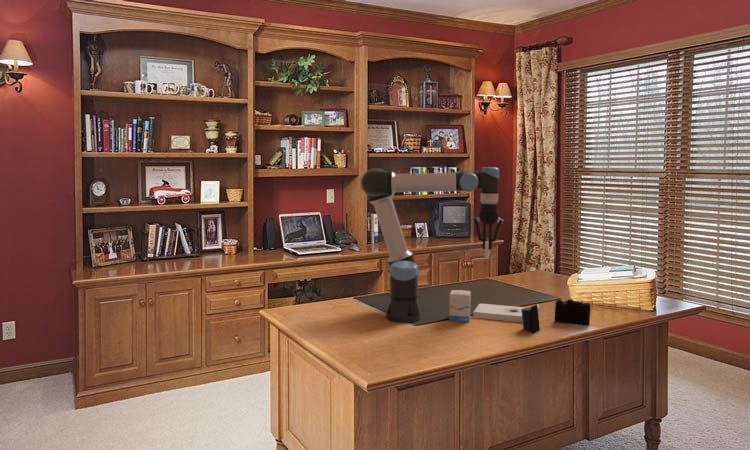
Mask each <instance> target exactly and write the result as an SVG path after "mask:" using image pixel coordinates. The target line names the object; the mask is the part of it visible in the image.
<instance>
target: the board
mask: <svg viewBox="0 0 750 450" xmlns="http://www.w3.org/2000/svg"><path fill="white" fill-rule="evenodd" d="M536 305H537V308H538V317H539V316H540V306H541V305H540V304H539V303H537V304H536ZM523 308H526V307H525V306H524V307H523V306H515V305H514V306H513V305H512V306H511V305H500V304H491V303H478V305H477V306H476V308H475V309H474V310H473V316H472V317H473V318H474V319H483V320H484V319H486V320H493V321H494V320H497V321H507V322H516V323H523V320H522V310H521V309H523ZM513 310H517V311H518V312H512V311H513Z"/></svg>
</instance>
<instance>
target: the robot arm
mask: <svg viewBox="0 0 750 450" xmlns="http://www.w3.org/2000/svg"><path fill="white" fill-rule="evenodd" d="M360 180H361V181H360V187H361V188H362V191H363V192H364V193H365V194H366V198H367V199H368V203H370V204H372V205H373V207H374V210H375V214H376V217H377V221H378V223H379V227H380V230H381V233H382V236H383V239H384V243H385V245H386V248H387V249H386V250H387V252H388V254H389V255H388V259H387V263H388V267H389V276H390V277H389V302H388V304H387V308H386V310H385V319H387V320H388V321H392V322H398V323H412V322H418V321H420V320H421V319H422V311H421V307H420V304H419V300H418V294H419V293H418V288H419V287H418V286H419V285H418V282H419V281H418V280H419V273H420V272H419V271H420V270H419V266H418V264H417V263H416V260H415V256H414V253H413V251H410V250H409V249H408V246H407V242H406V239H405V236H404V233H403V230H402V227H401V223H400V221H399V216H398V214H397V210H396V208H395V203H394V201H393V198H394V196H395V193H413V192H414V193H415V192H416V193H417V192H418V193H420V192H421V193H422V192H424V193H425V192H473V191H475V190H480V206H479V207H480V208H479V214H478V216H477V217H475V218H473V222H474V224H475V228H476V231H477V237H478V241H480V242H482V249H483V250H484V258H489V257H490V251H491V250H492V249H493V242H496V241H497V239H498V237H499V234H500V231H501V227H502V224H503V223H504V219H501V218H500V217H499V214H498V213H499V211H498V210H499V204H498V203H499V195H500V193H499V190H500V169H499V168H498V167H495V166H494V167H493V166H483V167H482V168H481V170H480V171H468V170H467V171H466V170H465V171H464V170H459V171H457V170H456V171H455V172H434V173H426V172H425V173H395V172H394V171H387V170H385V169H383V168H379V167H375V168H371V169H369V170H367V171H366V172H365V173H364V174H363V175H362V177H361V179H360ZM480 221H481V223H482V224H483V225H482V226H483V227H482V228H483V230H482V229H481V225H480V224H481V223H480ZM496 222H497V225H496V228H495V231H494V224H495V223H496ZM488 228H489V229H488ZM493 231H494V232H493ZM487 234H488V235H487ZM493 234H494V235H493ZM487 238H488V239H487Z"/></svg>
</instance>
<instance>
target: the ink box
mask: <svg viewBox="0 0 750 450" xmlns="http://www.w3.org/2000/svg"><path fill="white" fill-rule="evenodd" d="M471 293H472V291H471V290H463V289H462V290H461V289H456V290H455V289H451V290H450V293H449V314H448V319H449V320H448V321H449V322H458V323H470V317H471V301H472V299H471V298H472V297H471V296H472V295H471Z"/></svg>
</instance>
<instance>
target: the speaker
mask: <svg viewBox="0 0 750 450" xmlns="http://www.w3.org/2000/svg"><path fill="white" fill-rule="evenodd" d="M521 310H522V320H523V322H522V327H523V330H525V331H532V334H535V333H538V332H539V331H541V328H540V320H539V316H538V308H537V304H534V305H533V306H530V307H525V308H523V309H521Z"/></svg>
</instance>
